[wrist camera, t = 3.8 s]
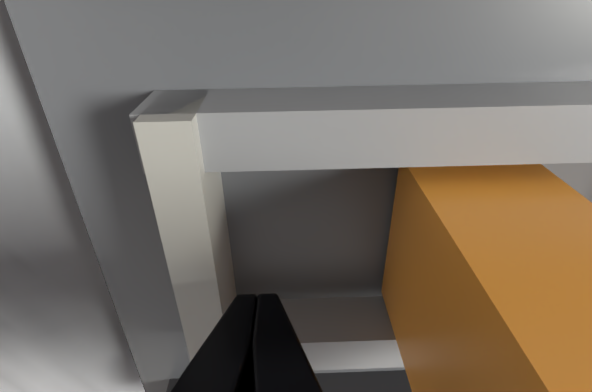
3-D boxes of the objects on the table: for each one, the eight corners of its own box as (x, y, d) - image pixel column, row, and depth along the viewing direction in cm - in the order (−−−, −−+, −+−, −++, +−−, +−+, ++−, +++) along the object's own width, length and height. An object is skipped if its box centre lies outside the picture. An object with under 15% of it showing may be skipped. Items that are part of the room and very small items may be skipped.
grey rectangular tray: (956, -127, 8) (1328, -178, 5) (630, 352, 15) (705, 436, 13) (1, -118, 7) (-166, -169, 5) (157, 370, 15) (129, 460, 12)
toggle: (525, 152, 9) (964, 485, 3) (481, 287, 11) (693, 626, 6) (400, 155, 9) (616, 498, 3) (381, 291, 11) (487, 638, 5)
